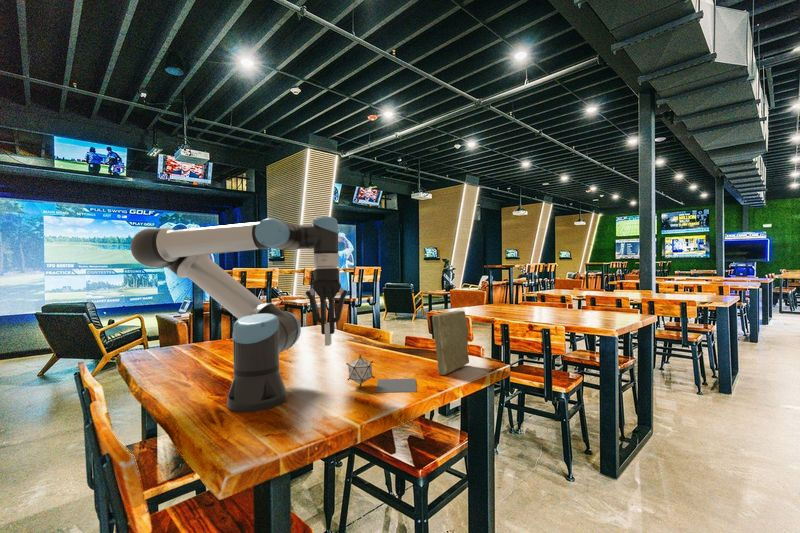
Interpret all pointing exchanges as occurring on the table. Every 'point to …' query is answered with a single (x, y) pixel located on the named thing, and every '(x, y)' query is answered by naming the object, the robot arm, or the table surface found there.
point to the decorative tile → (451, 340)
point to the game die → (360, 370)
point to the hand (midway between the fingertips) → (328, 344)
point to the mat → (396, 385)
